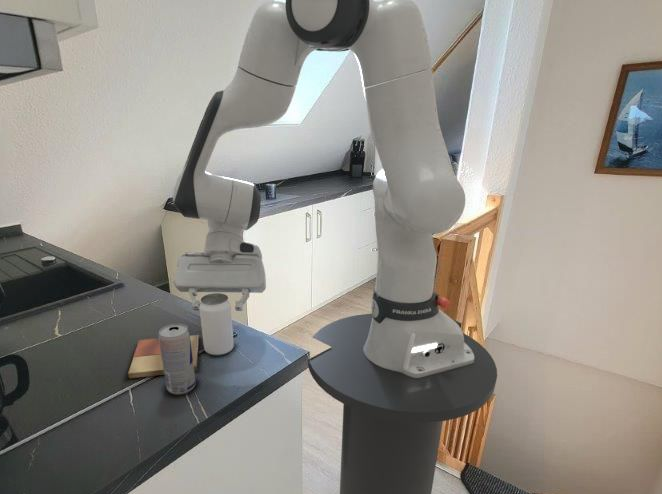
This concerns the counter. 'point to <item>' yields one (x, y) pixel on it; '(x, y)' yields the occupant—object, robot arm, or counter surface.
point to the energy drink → (177, 358)
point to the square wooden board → (155, 358)
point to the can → (216, 324)
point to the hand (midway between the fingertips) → (217, 309)
